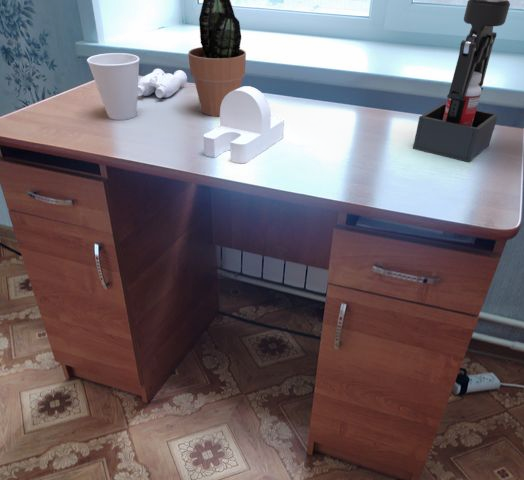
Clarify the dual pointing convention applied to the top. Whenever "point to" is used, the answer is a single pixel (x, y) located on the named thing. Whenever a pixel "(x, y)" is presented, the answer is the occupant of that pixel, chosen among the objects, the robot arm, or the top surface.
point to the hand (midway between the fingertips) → (456, 128)
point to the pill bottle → (469, 101)
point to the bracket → (244, 126)
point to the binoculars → (161, 83)
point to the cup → (117, 83)
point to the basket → (454, 134)
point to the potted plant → (217, 55)
